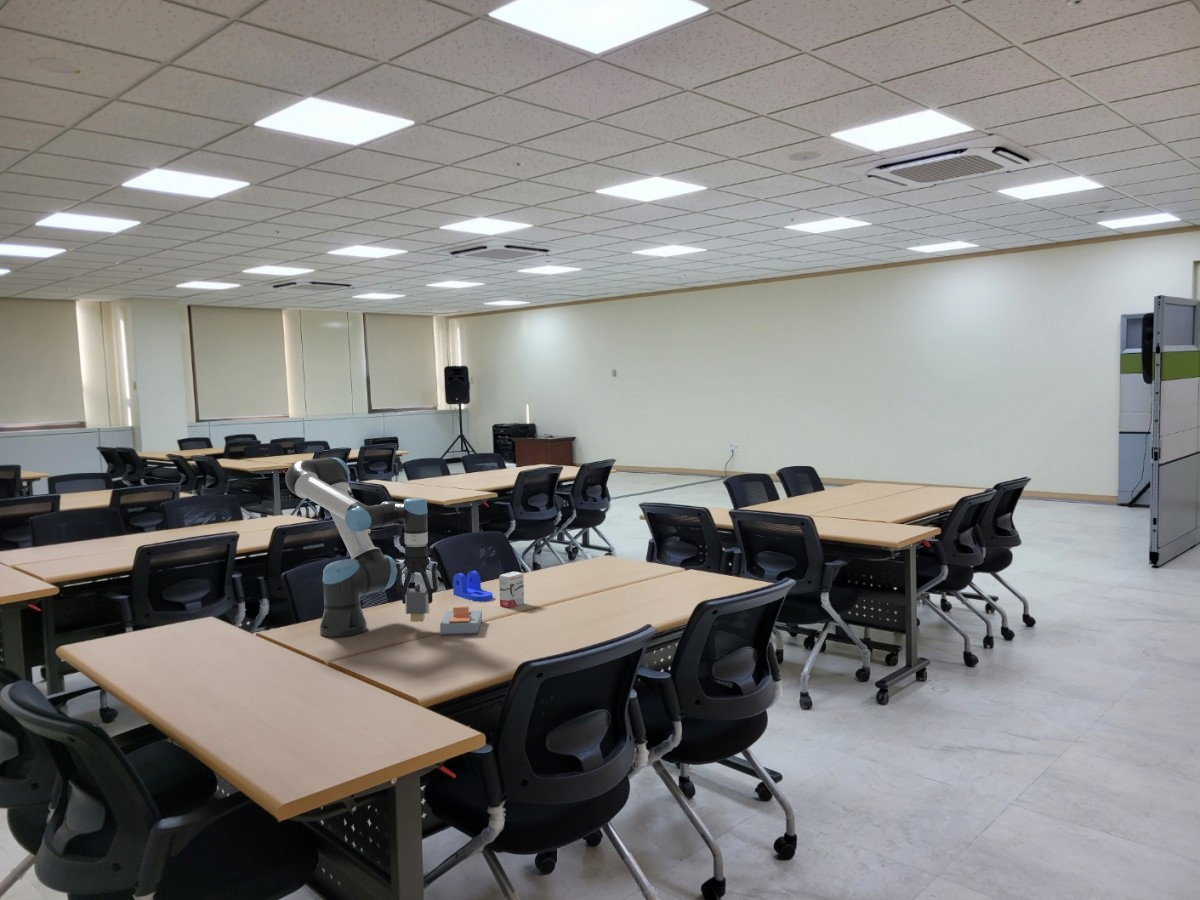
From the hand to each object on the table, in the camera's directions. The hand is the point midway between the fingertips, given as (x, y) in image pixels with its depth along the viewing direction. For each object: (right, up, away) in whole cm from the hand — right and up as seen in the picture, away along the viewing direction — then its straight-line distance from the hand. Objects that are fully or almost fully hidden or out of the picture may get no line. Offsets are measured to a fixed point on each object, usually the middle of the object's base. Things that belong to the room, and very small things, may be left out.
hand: (417, 612), depth 278 cm
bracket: (+12, -3, +46) cm, 48 cm away
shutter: (+15, -2, -3) cm, 15 cm away
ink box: (+28, -4, +32) cm, 43 cm away
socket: (+15, -6, +2) cm, 16 cm away
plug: (0, -2, 0) cm, 2 cm away
